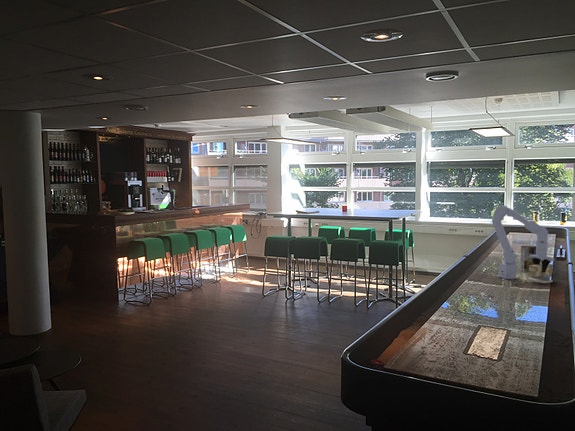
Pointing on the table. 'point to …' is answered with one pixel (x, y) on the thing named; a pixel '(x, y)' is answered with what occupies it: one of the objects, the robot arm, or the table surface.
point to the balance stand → (540, 279)
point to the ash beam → (539, 270)
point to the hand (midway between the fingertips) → (540, 271)
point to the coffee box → (527, 257)
